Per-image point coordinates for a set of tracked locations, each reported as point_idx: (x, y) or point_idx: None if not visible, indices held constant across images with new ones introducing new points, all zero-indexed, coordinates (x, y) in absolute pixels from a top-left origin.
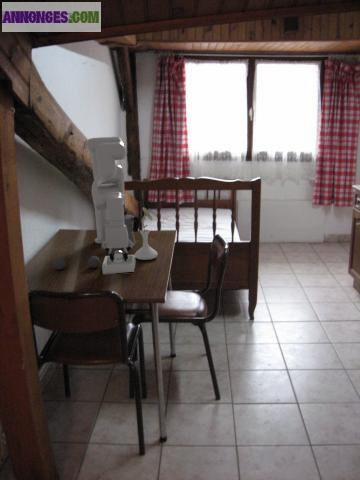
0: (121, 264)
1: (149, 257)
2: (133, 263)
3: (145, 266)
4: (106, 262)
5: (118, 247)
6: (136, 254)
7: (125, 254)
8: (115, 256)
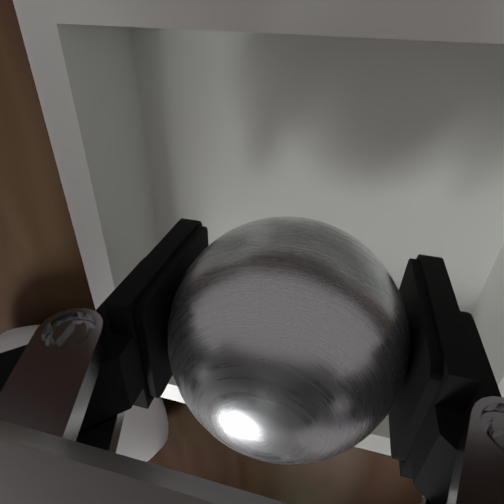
0: (247, 30)
1: (21, 333)
2: (28, 48)
3: (43, 201)
4: (502, 325)
5: (153, 496)
6: (133, 413)
7: (123, 287)
8: (354, 280)
